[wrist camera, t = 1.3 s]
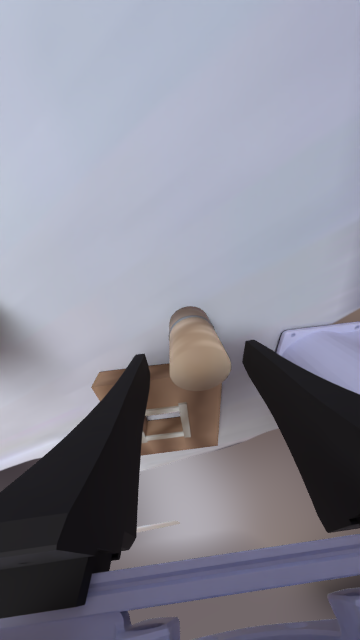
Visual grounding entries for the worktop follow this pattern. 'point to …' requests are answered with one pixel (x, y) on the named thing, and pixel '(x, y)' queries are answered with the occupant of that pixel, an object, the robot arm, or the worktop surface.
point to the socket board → (166, 397)
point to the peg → (196, 351)
